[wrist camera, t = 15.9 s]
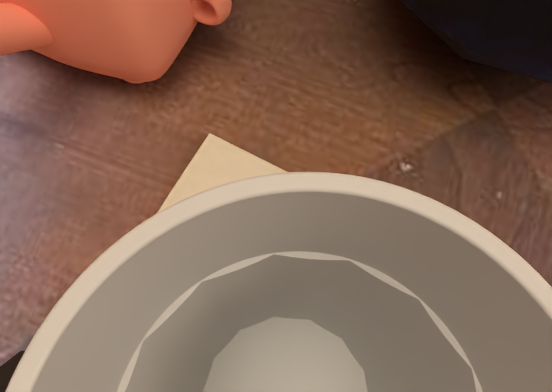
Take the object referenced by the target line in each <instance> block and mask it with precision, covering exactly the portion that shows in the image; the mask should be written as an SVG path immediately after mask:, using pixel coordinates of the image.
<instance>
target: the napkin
mask: <svg viewBox="0 0 552 392" xmlns="http://www.w3.org/2000/svg"><path fill="white" fill-rule="evenodd" d="M277 173H288V172H286V171H284V170H282V169H280V168H278V167H276V166H274V165H272V164H270V163H268V162H266V161H264V160H262V159H260V158H258V157H256V156H254V155H252V154H250V153H248V152H246V151H244V150H242V149H240V148H238V147H236V146H234V145H232V144H230V143H228V142H226V141H224V140H222V139H220V138H218V137H216V136H214V135H212V134H210V133H209V134H208V136H207V137H206V139H205V140H204V142H203V144H202V145H201V147H200V148H199V150H198V151H197V153H196V154H195V156H194V157H193V159H192V160H191V162H190V163H189V165H188V166H187V168H186V169H185V171H184V172H183V174H182V175H181V177H180V178H179V180H178V181H177V183H176V185H175V186H174V188H173V189H172V191H171V192H170V194H169V195H168V197H167V198H166V200H165V201H164V203H163V204H162V206H161V207H160V209H159V210H158V212H157V213H159V212H160V211H162V210H164V209H166V208H168V207H169V206H171V205H173V204H175V203H177V202H180V201H182V200H184V199H186V198H188V197H190V196H193V195H195V194H197V193H200V192H203V191H205V190H208V189H211V188H214V187H217V186H220V185H223V184H226V183H230V182H234V181H238V180H242V179H246V178H251V177H256V176H262V175H269V174H277ZM157 213H156V214H157Z"/></svg>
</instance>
